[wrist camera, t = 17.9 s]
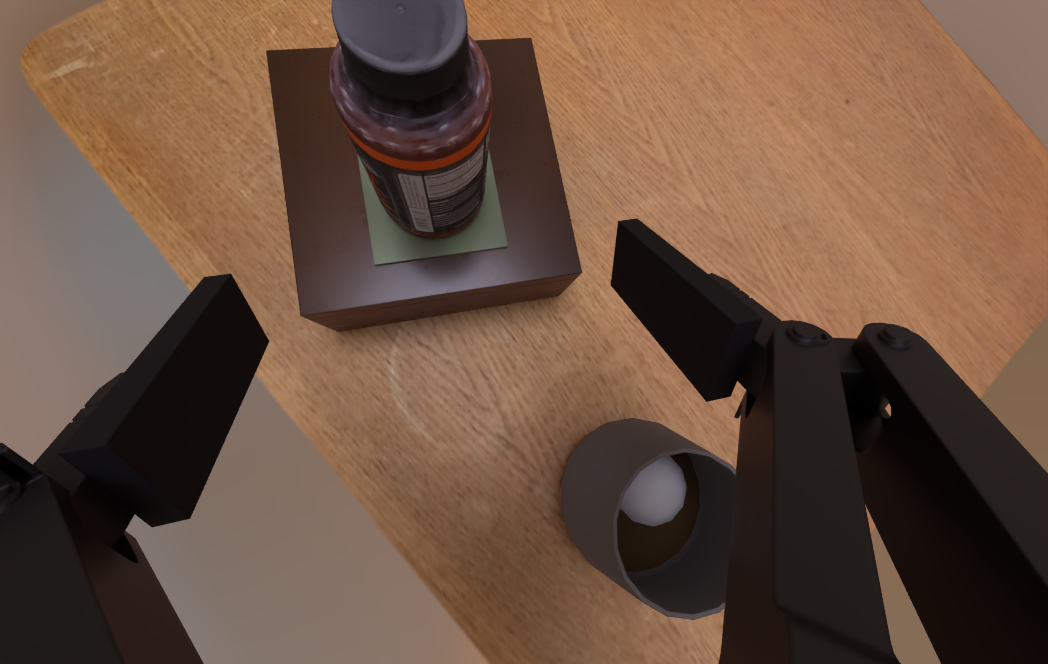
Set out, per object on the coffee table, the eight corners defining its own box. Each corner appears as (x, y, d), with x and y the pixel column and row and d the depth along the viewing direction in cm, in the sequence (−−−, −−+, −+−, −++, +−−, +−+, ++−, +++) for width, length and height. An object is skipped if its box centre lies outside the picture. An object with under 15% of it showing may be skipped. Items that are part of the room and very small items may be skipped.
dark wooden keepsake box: (337, 332, 27) (298, 315, 21) (307, 119, 29) (263, 46, 22) (559, 295, 29) (583, 271, 23) (519, 103, 31) (531, 34, 25)
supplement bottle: (365, 161, 22) (263, -63, 11) (463, 134, 23) (458, -94, 12) (401, 255, 22) (331, 119, 11) (499, 223, 23) (528, 70, 12)
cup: (632, 391, 29) (715, 392, 19) (696, 502, 29) (815, 562, 19) (523, 458, 27) (554, 497, 18) (589, 579, 27) (659, 689, 17)
